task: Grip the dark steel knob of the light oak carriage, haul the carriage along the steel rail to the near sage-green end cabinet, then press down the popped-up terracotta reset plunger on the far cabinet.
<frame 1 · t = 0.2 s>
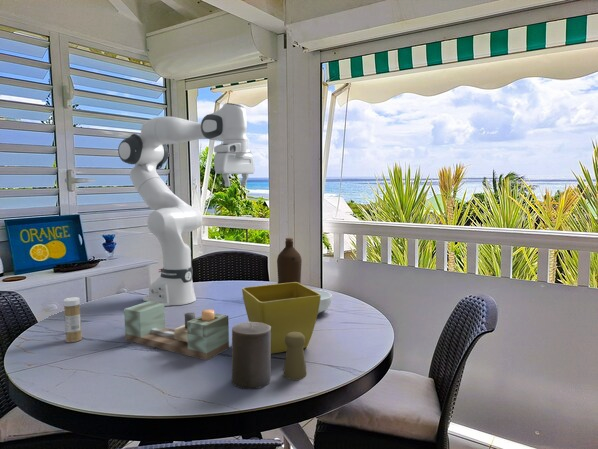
hand: (235, 186, 162), 48 cm above the table, tool pointing down, fingers open, 8 cm apart
reset plunger: (175, 343, 135), resting on rail bed, slide at 0.0 cm
game pawn: (295, 375, 114), on the table
sprinkles bottle: (73, 340, 138), on the table
cereal bowl: (309, 312, 167), on the table
olive oil: (289, 295, 191), on the table
flower pot: (280, 345, 134), on the table
rail bed: (175, 343, 135), on the table
pillar candle: (252, 380, 111), on the table
carriage: (190, 347, 132), resting on rail bed, slide at 6.0 cm
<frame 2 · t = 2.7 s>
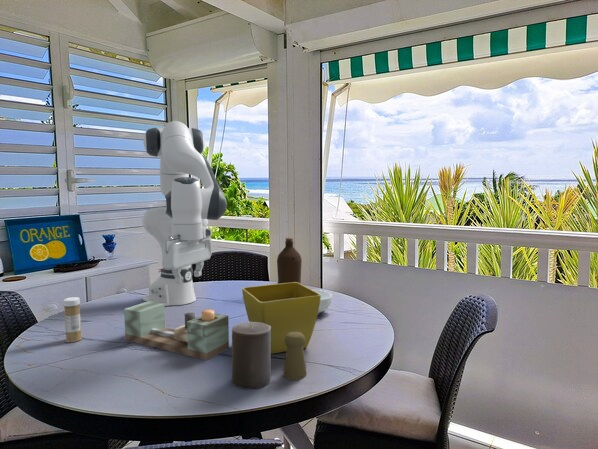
hand: (188, 279, 130), 21 cm above the table, tool pointing down, fingers open, 8 cm apart
nothing on the table moved.
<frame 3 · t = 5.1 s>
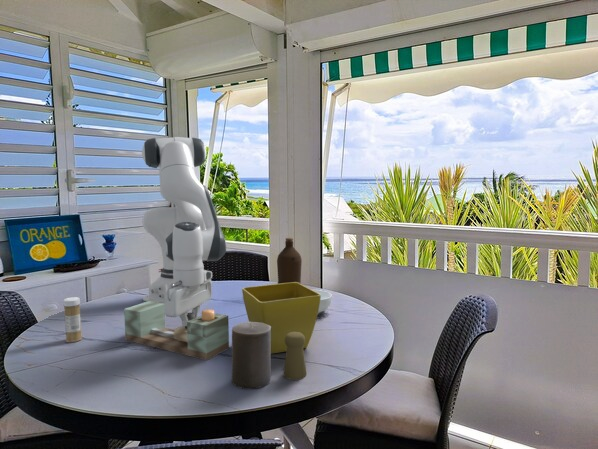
hand: (190, 322, 131), 8 cm above the table, tool pointing down, fingers closed on carriage, 3 cm apart
carriage: (190, 347, 132), resting on rail bed, slide at 6.0 cm, touching gripper
everything else where it was.
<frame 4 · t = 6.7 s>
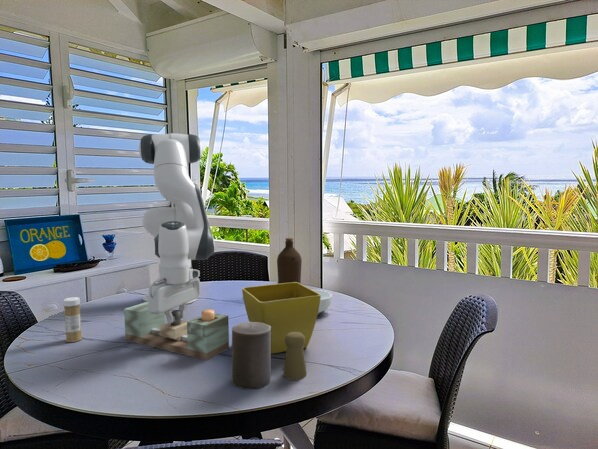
hand: (175, 320, 134), 8 cm above the table, tool pointing down, fingers closed on carriage, 3 cm apart
carriage: (176, 343, 135), resting on rail bed, slide at 0.2 cm, touching gripper
everything else where it was.
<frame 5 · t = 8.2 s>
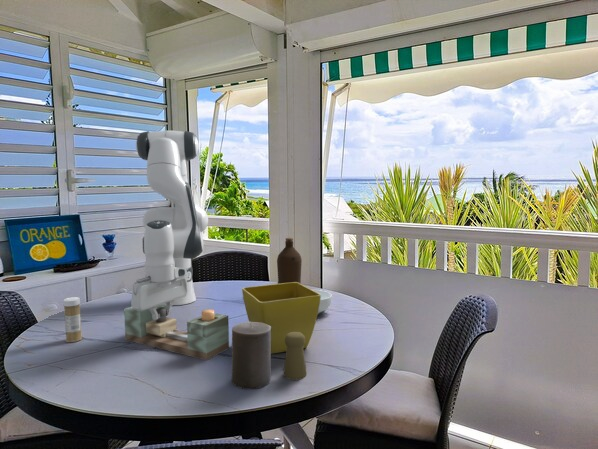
hand: (161, 317, 137), 8 cm above the table, tool pointing down, fingers closed on carriage, 3 cm apart
carriage: (161, 340, 138), resting on rail bed, slide at -5.9 cm, touching gripper
everything else where it was.
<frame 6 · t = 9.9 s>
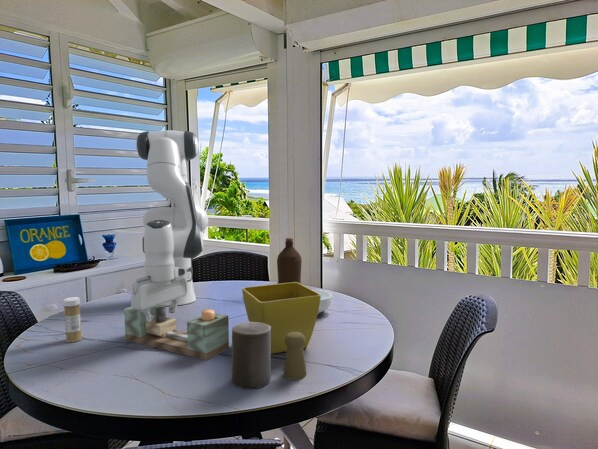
hand: (161, 316, 137), 8 cm above the table, tool pointing down, fingers open, 8 cm apart
carriage: (161, 340, 138), resting on rail bed, slide at -5.9 cm
everything else where it was.
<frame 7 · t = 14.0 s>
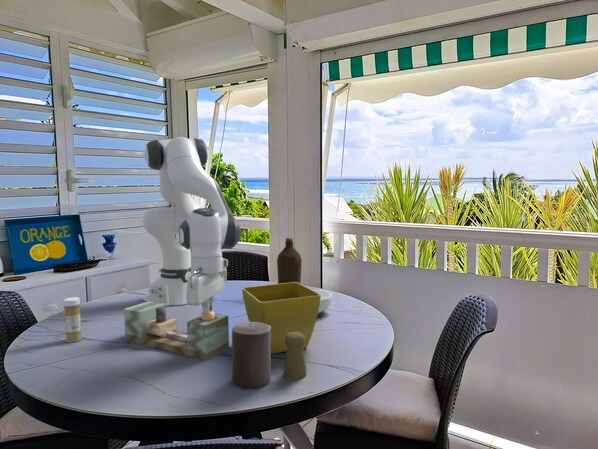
hand: (207, 312, 127), 12 cm above the table, tool pointing down, fingers closed, pressing on reset plunger
reset plunger: (175, 344, 135), resting on rail bed, slide at 0.3 cm, touching gripper
everything else where it was.
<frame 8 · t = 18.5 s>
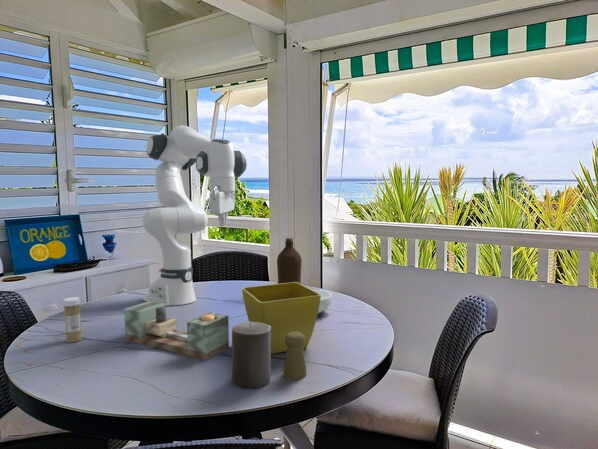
hand: (222, 225, 155), 34 cm above the table, tool pointing down, fingers closed
reset plunger: (176, 348, 135), resting on rail bed, slide at 1.5 cm
everything else where it was.
at the end: carriage slide at -5.9 cm; reset plunger slide at 1.5 cm; the gripper is holding nothing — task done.
